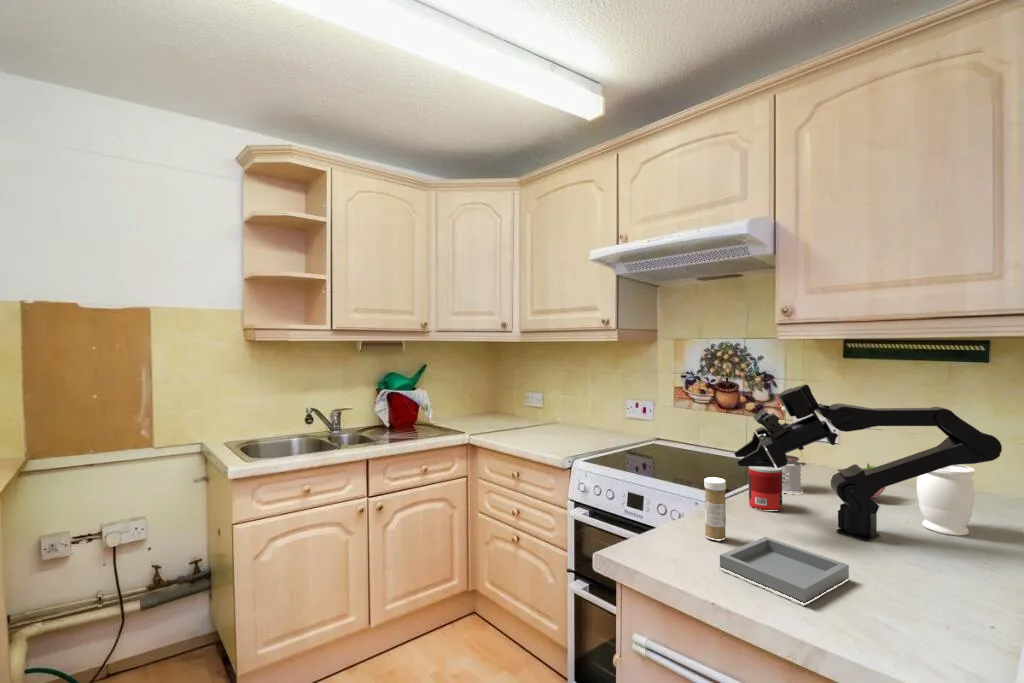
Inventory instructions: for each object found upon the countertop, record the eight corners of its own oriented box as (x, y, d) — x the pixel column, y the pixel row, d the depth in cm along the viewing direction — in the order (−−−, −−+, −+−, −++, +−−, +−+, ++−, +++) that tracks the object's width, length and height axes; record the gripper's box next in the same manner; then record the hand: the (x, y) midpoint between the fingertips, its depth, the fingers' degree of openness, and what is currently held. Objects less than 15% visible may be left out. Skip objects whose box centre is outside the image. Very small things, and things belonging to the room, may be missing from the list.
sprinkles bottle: (711, 532, 116) (710, 475, 116) (730, 538, 113) (729, 479, 113) (700, 537, 113) (700, 479, 113) (719, 544, 110) (719, 483, 110)
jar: (916, 517, 125) (916, 458, 124) (973, 527, 118) (972, 464, 118) (916, 530, 116) (916, 466, 116) (976, 542, 110) (976, 474, 110)
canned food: (788, 512, 129) (787, 470, 129) (757, 512, 129) (756, 470, 129) (773, 502, 137) (773, 462, 137) (743, 502, 137) (743, 462, 137)
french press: (785, 496, 142) (784, 409, 142) (755, 484, 153) (754, 403, 153) (812, 493, 145) (812, 407, 145) (781, 482, 156) (781, 402, 156)
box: (848, 580, 93) (848, 564, 93) (804, 606, 84) (804, 589, 84) (765, 550, 106) (765, 536, 106) (719, 570, 98) (719, 554, 98)
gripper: (776, 398, 129) (718, 423, 133) (789, 408, 111) (722, 436, 116) (799, 438, 127) (739, 461, 132) (815, 454, 109) (746, 481, 114)
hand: (736, 459), depth 123 cm, fingers open, 9 cm apart
